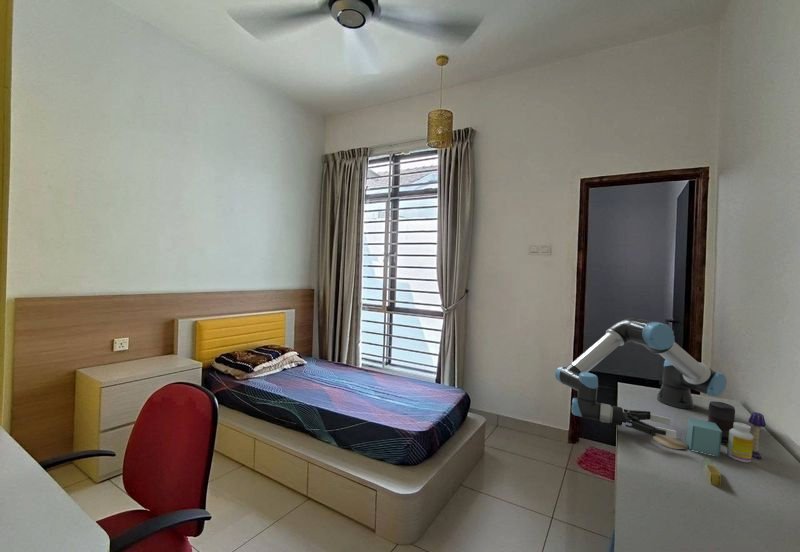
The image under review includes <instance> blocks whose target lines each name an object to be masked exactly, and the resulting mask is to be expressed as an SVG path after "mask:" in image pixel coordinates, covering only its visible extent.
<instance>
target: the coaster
mask: <svg viewBox="0 0 800 552" xmlns="http://www.w3.org/2000/svg"><path fill="white" fill-rule="evenodd" d="M652 439H653V441H654V440H655V441H656V442H655V441H654V442H655V443H657V442H658V443H660V444H662V445H665V446H667V447H666V448H668V447H671V448H675V449H674V450H676V449H686V450H687V449H688V448H689V447H688V445H687V443H686V441H683V440H681V439H679V438H677V437H676V438H671V437H667V436H663V435H658V434H655V436H653V437H652ZM658 443H657V444H658ZM660 444H659V445H660ZM662 445H661V446H662ZM665 446H664V447H665ZM671 448H670V449H671Z"/></svg>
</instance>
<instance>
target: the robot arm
mask: <svg viewBox="0 0 800 552" xmlns="http://www.w3.org/2000/svg"><path fill="white" fill-rule="evenodd" d="M674 334H675V333H674V330H673V329H672V328H671V327H670V326H669V325H667V324H666V323H662V322H661V321H659V322H658V321H651V320H646V319H643V318H642V319H641V318H636V317H629V318H625V319H622V320H620V321H618V322H615V324H612V325H611V326H610V327H609V328H608V329H607V330H605V334H604V335H603V336H601V337H600V338H599V339H598V340H597V341H596V342H595V343H593V344H592V345H591V346H589V347H588V349H586V350H585V351H584V352H582V353H581V354H580V355H579V356H578V357H577V358H575V360H573V361H572V362H571V363H570V364H568V365H567V366H559V367H557V368H556V369H555V372H554V377H555V379H556V380H557V381H558V382H559V383H561V384H562V385H565V386H567V387H569V388H571V389H573V390H575V391H577V397H573V398H572V400H571V413H572V415H574V416H577V417H581V418H583V419H590V420H593V421H598V422H601V423H603V424H605V423H607V424H610V423H611V424H612V425H615V426H619V427H622V425H623V423H624V424H625V427H627V428H630V429H634V430H635V431H639V432H641V433H644V434H647V435H650V436H655V435H663V436H667V437H671V438H677V430H674V429H669V428H666V427H659V426H653V425H651V424H648V423H646V422H643V421H648V420H650V421H651V422H655V423H659V424H664V425H670V421H671V418H670V417H667V416H663V415H657V414H652V412H651V411H649V410H648V411H647V410H634V409H633V410H631V409H627V408H626V409H625V408H624V409H623V407H621V406H617V405H611V404H607V403H603V402H602V403H601V402H597V401H598V400H597V398H598V397H597V396H598V389H599V378H598V376H597V375H596V374H593V372H592V373H591V372H589V371H591V370H592V369H593V368H595V367H596V366H597V365H598V364H599V363H600V362H602V361H603V359H605V358H606V357H607V356H608V355H610V354H611V353H612V352H613V351H614V350H616V349H617V348H618V347H620V346H621V347H623V346H624V345H625V344H627V343H631V342H632V343H634V344H638V345H642V346H643V347H645V348H646V350H648V351H650V352H651V353H653V354H655V355H659V356H661V357H662V358H663V359H664V362H663V368H662V369H663V371H662V383H661V384H662V385H661V387H660V389H659V391H658V393H657V395H656V400H657V401H658V402H660V403H662V404H664V405H667V406H670V407H674V408H679V409H693V408H694V399H693V396H692V393H691V390H694V391H696V392H699V393H703V395H704V394H705V395H707V396H711V397H715V398H716V397H719V396H721V395H722V394H723V393H724V391H725V390H726V388H727V384H728V383H727V377H726V375H725V374H724V373H722V372H720V371H715V370H713V369H712V368H711V367H710V366H709V365H707V364H705V363H703V362H700V361H698V360H696V359H695V358H694V357H693V356H691V354H689V353H688V352H687V351H686V350H685V349H684V348H682V346H680V345H679V344H678V343H677V342H676V341H675V335H674Z"/></svg>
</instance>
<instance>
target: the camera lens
mask: <svg viewBox="0 0 800 552" xmlns="http://www.w3.org/2000/svg"><path fill="white" fill-rule="evenodd" d="M735 408H736V407H735V406H734V405H731V404H729V403H726V402H722V401H717V400H716V401H715V400H714V401H710V402H709V404H708V409H707V410H708V419H707V421H708V422H713V423H716V425H717V426H718V427H719V428H720V430H721V431H722V437H721V445H728V440H729V430H730V429H732V428H734V426H733V424H734V422H735V418H736V410H735Z"/></svg>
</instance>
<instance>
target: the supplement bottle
mask: <svg viewBox="0 0 800 552" xmlns="http://www.w3.org/2000/svg"><path fill="white" fill-rule="evenodd" d="M751 429H752V427H751V425H749V424H746V423H743V422H739V421H738V422H737V421H736V422H735V421H734V424H733V428H732V429H730V430H729V440H728V444H727V452H726V454H727V456H728V457H729V458H731V459H733V460H735V461H737V460H738V461H737V462H741V463H747V464H748V463H751V462H752V450H753V439H754V437H753V433H751Z"/></svg>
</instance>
